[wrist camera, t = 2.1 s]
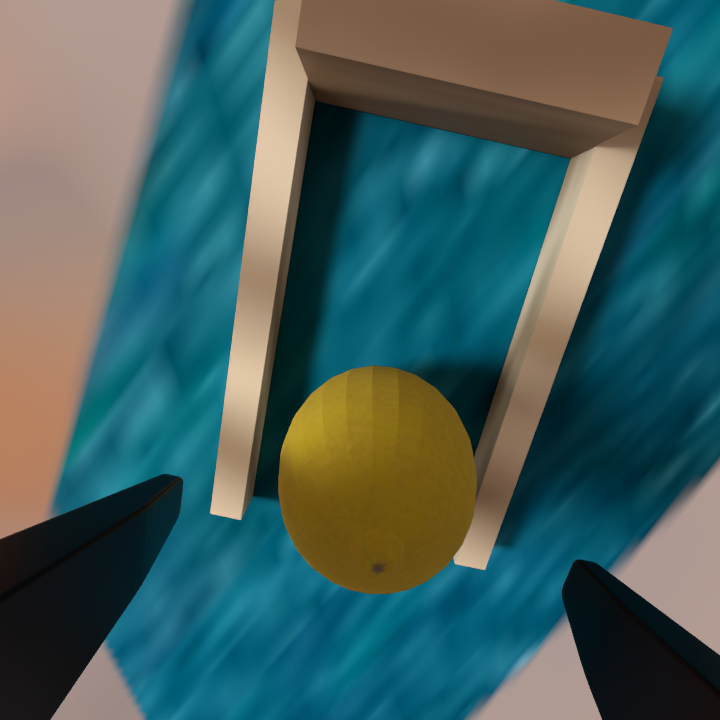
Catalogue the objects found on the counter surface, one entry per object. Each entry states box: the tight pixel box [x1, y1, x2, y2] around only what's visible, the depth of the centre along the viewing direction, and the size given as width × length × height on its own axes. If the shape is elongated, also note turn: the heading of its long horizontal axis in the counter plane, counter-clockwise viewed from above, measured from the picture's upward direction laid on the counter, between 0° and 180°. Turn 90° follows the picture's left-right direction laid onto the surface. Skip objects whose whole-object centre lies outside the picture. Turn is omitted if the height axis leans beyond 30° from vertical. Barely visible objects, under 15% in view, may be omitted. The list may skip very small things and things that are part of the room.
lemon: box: [278, 366, 477, 594], centre depth 12 cm, size 6×6×8 cm
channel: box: [210, 0, 673, 570], centre depth 13 cm, size 17×11×4 cm, turn 168°
